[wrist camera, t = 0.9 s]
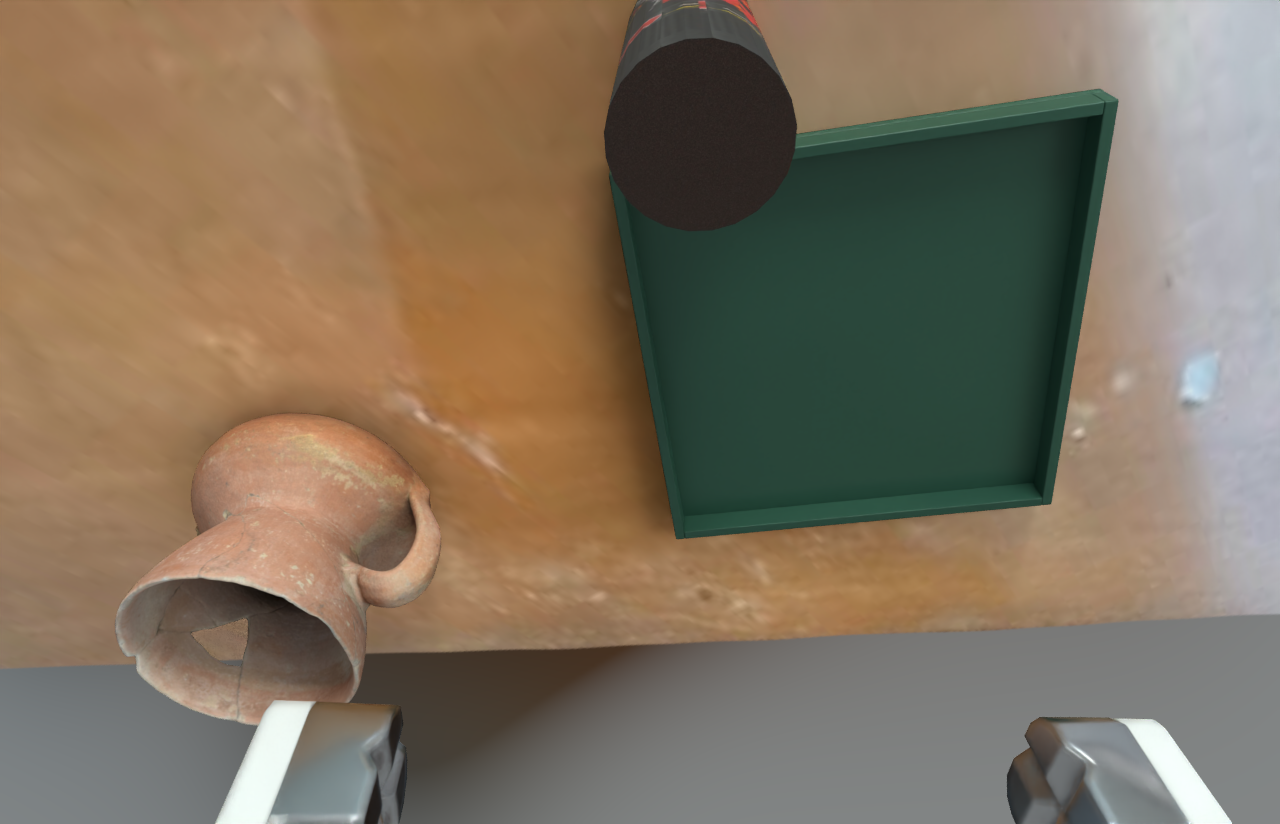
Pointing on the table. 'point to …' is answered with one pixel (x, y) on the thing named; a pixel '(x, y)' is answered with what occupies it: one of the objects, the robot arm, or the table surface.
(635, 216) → the tray
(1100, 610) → the table surface
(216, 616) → the ceramic jug
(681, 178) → the deodorant
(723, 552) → the table surface
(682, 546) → the table surface
